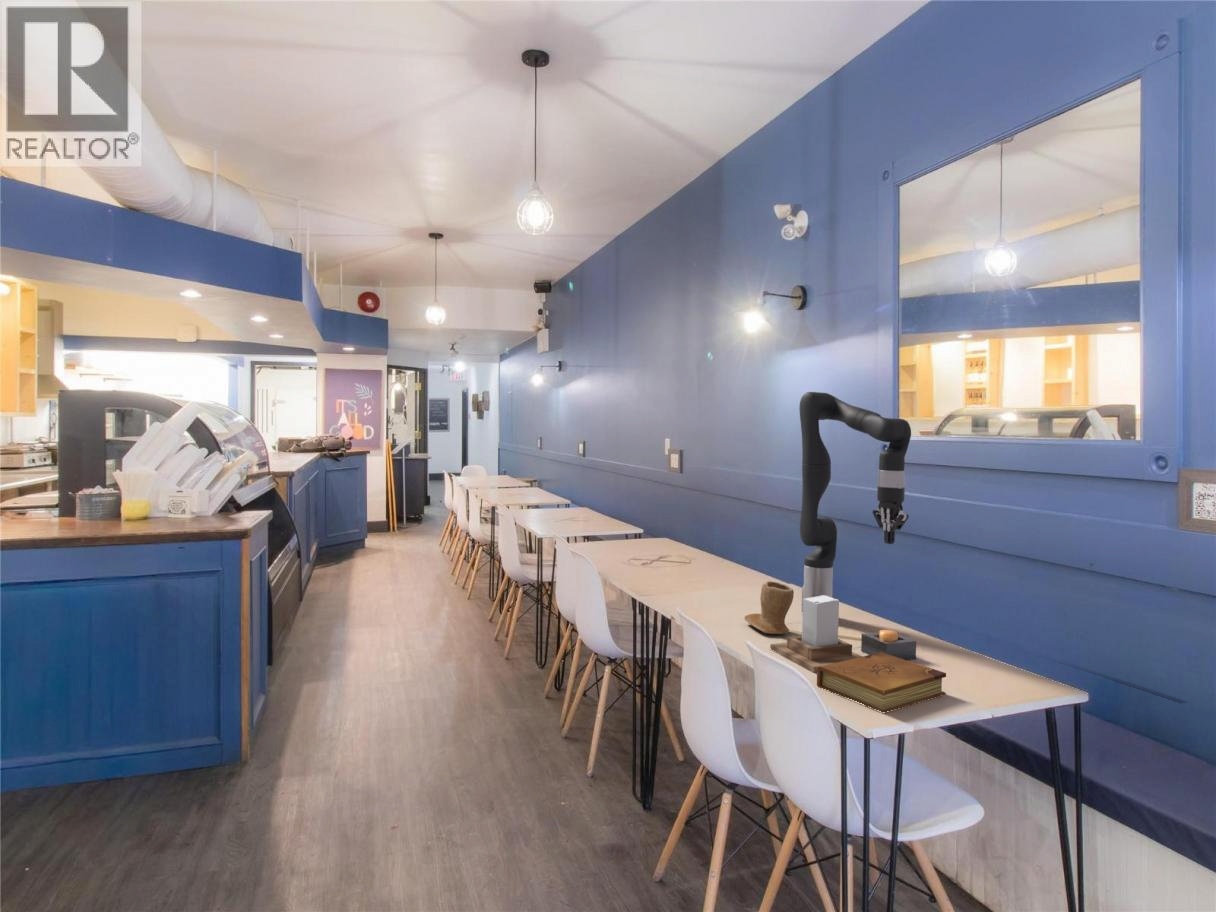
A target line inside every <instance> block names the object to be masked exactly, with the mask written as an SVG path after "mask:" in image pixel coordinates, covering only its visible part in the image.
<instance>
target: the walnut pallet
mask: <svg viewBox="0 0 1216 912" xmlns="http://www.w3.org/2000/svg"><path fill="white" fill-rule="evenodd" d="M769 644H770V645H769V647H770V648H771V649H772V650H774V651H776V652H777V653H776V652H775V653H776V654H778V653H779V654H778V655H780V654H781V655H780V656H782V657H784V658H785V659H787V660H789V661H791V662H793V663H795V664H797V665H798V666H801V667H802V668H803V669H807V671H810V672H811V671H812V673H813V674H815V673H817V669H818V668H819V667H820V666H825V665H829V664H833V663H837V662H842V661H846V660H850V659H854V658H859V657H863V656H862V655H860V654H858V653H855V652H854V651H853V645H852V643H851V644H850V643H849V642H846V641H844V640H842V639H840V638H838V644H837V645H827V646H818V647H812V646H810V645H808V644H806V643H804V642H802V635H798V636H788V637H787V640H786V641H785V642H776V643H769ZM770 648H769V649H770ZM771 649H770V650H771ZM772 650H771V651H772ZM774 651H773V652H774Z"/></svg>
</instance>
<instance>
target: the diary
mask: <svg viewBox="0 0 1216 912" xmlns="http://www.w3.org/2000/svg"><path fill="white" fill-rule="evenodd" d="M946 677H947V673H946V672H943V671H942V670H937V669H935V668H932V667H929V666H925V665H923V664H919V663H917V662H912V661H911V660H904V659H901V658H898V657H895V656H892V655H888V654H885V653H882V652H880V653H875V654H871V655H868V654H866V655H864V656H863V657H859V658H854V659H850V660H846V661H842V662H837V663H833V664H829V665H825V666H820V667H819V668H818V669H817V672H816V686H817V688H820V689H822V688H823V690H824V689H826V690H825V691H827V690H829V691H831V692H830V693H832V692H833V693H832V694H834V693H836V694H839V695H841V696H844V697H846V698H849V699H852V700H854V701H857V702H859V703H862V704H864V705H866V706H869V707H871V708H873V709H876V710H879V711H881V712H887V711H891V710H894V709H897V710H899V709H898V708H900V709H903V708H902V707H904V708H906V707H905V706H907V707H909V706H908V705H910V706H913V705H915V704H914V703H916V704H919V703H918V702H920V703H923V702H925V700H926V701H928V699H929V700H932V699H931V698H933V699H935V697H936V698H939V697H942V696H946V692H945V691H942V689H943V688H942V685H943V684H942V683H943V679H944V678H946ZM829 691H828V692H829ZM836 694H835V695H836ZM839 695H838V696H839ZM941 695H942V696H941ZM841 696H840V697H841ZM938 696H939V697H938ZM844 697H843V698H844ZM846 698H845V699H846ZM849 699H848V700H849ZM922 701H923V702H922ZM912 704H913V705H912ZM866 706H865V707H866ZM871 708H870V709H871ZM873 709H872V710H873ZM894 711H895V710H894ZM891 712H892V711H891ZM887 713H888V712H887Z"/></svg>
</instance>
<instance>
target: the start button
mask: <svg viewBox="0 0 1216 912" xmlns="http://www.w3.org/2000/svg"><path fill="white" fill-rule="evenodd" d="M878 632H879V638H880V639H883V640H885V641H896V640H898V634H899V632H897V631H895V630H891V629H880V630H879V631H878Z"/></svg>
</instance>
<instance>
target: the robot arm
mask: <svg viewBox="0 0 1216 912" xmlns="http://www.w3.org/2000/svg"><path fill="white" fill-rule="evenodd" d="M799 419H800V429H801V446H802V447H801V449H802V450H801V451H802V458H801V460H802V461H801V464H802V465H801V477H802V479H801V480H802V487H801V488H802V491H801V493H802V494H801V496H802V498H801V510H800V511H801V512H800V519H799V520H800V521H799V522H800V523H799V535H800V539H801V542H802V544H804V546H807V547H816V548H815V549H814V550H813V551H812V552H811V553H809V554H806V556H804V563H803V566H804V567H803V585H802V587H801V613H802V612H803V599H805V598H811V597H817V596H822V595H825V596H828V597H831V598H833V579H834V561H835V559H836V554H837V553H836V552H837V541H838V530H837V525H836V523H835V521H834V520H833V519H832V518H829V517H818V511H819V504H820V502H821V499H822V497H823V495H824V493H825V492H826V491H827V488H828V487H829V484H830V482H831V479H832V478H831V477H832V462H831V455H830V454H829V451H828V449H827V447H826V445H825V444H824V441H823V440H822V437H821V434H820V432H821V431H820V421H825V420H829V421H831V420H832V421H837V422H841V423H844V424H845V425H846V426H847V427H849V428H851V429H852V430H854V431H857V432H860V433H863V434H866V435H868V436H869V437H872V438H873V439H875V440H878V441H880V442H883V443H888V447H887V449H885V450H882V451H880V453H879V460H878V475H877V487H876V488H877V491H876V493H877V494H876V495H877V496H876V500H877V501H878V502H879V504H878V506H877V507H878V508H876V509H875V510H874V509H873V510H872V515H873V517H874V519H875V521H876V523H877V525H878V527H879V529H882V530H883V534H884V535H883V540H884V543H885V544H888V545H893V544H894V543H895V539H896V534H895V533H896V532H897V531H901V529H902V528H903V527H904V525H905V524H906V522H907V521H908V519H909V516H910V515H909V514H905V513H904V507H903V503H904V502H905V494H906V493H905V491H906V490H905V489H906V487H905V486H906V476H905V467H906V466H905V462H906V461H905V460H906V459H905V458H906V454H907V451H908V448H909V444H910V441H911V437H912V428H911V426H910V423H909V422H908V421H907V420H906V419H903V418H888V417H883V416H881V414H879V413H878V412H875V411H872V410H869V409H865V408H863V407H862V408H861V407H858V406H855V405H852V404H849V403H847V402H845V401H843V400H841V399H839V398H838V397H836V396H834V395H832V394H830V393H828V392H819V391H818V392H816V391H808V392H805V393H803V395H802V396H801V398H800V400H799Z"/></svg>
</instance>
